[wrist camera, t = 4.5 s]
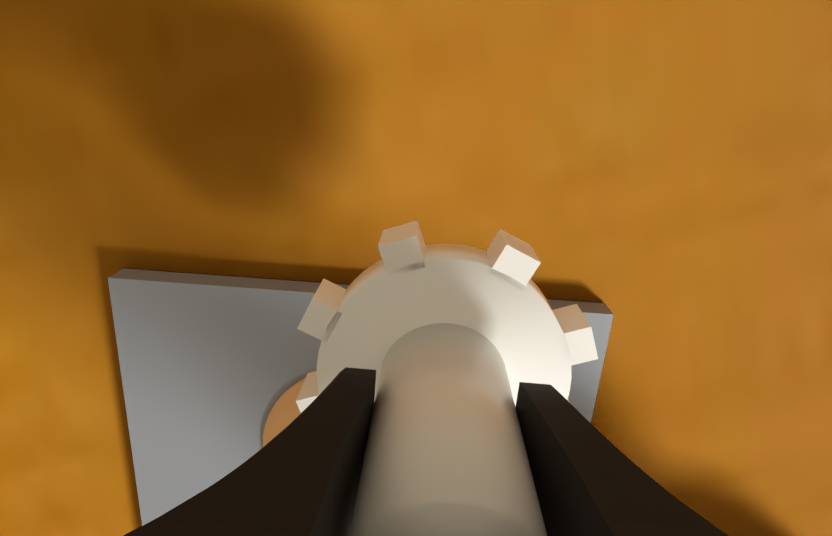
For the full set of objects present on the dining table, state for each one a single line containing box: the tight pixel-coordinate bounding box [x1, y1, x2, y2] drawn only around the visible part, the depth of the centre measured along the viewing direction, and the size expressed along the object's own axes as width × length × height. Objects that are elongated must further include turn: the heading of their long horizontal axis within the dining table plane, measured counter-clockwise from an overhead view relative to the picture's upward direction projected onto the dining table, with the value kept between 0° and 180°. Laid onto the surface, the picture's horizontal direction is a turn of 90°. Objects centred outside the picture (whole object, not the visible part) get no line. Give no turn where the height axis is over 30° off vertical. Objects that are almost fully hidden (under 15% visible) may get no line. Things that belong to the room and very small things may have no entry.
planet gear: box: [296, 220, 598, 536], centre depth 10 cm, size 6×6×6 cm
